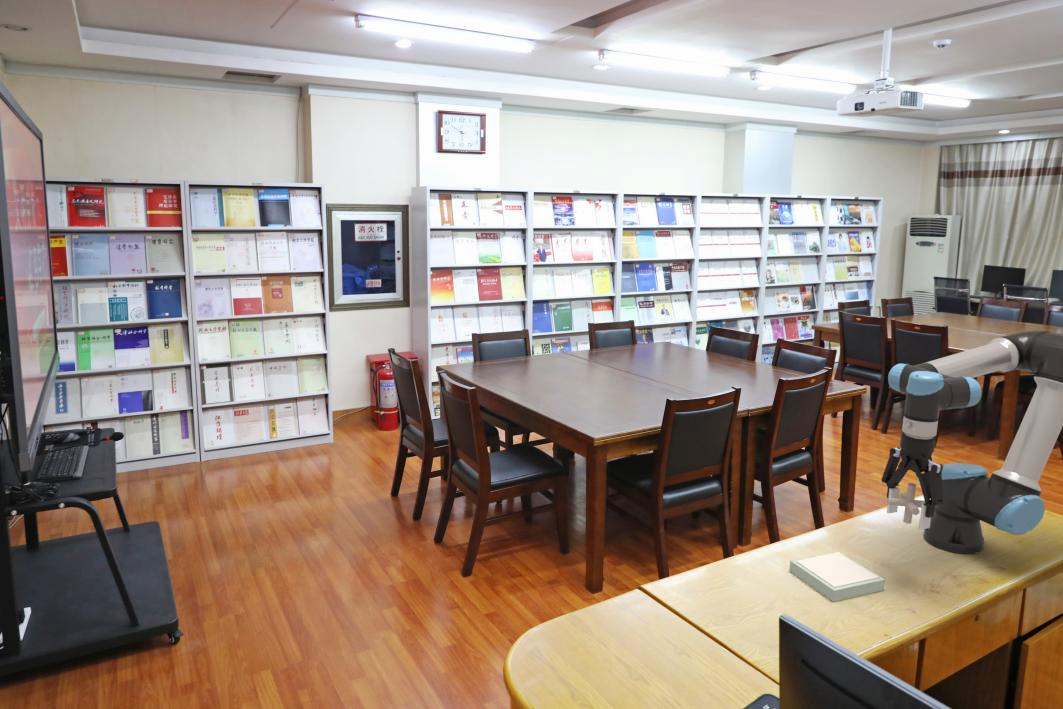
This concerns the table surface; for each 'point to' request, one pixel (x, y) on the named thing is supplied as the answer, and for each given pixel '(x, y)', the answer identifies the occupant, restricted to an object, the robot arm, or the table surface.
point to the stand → (836, 576)
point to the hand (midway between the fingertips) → (907, 519)
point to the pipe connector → (908, 503)
